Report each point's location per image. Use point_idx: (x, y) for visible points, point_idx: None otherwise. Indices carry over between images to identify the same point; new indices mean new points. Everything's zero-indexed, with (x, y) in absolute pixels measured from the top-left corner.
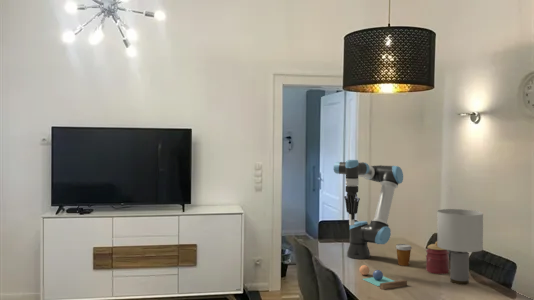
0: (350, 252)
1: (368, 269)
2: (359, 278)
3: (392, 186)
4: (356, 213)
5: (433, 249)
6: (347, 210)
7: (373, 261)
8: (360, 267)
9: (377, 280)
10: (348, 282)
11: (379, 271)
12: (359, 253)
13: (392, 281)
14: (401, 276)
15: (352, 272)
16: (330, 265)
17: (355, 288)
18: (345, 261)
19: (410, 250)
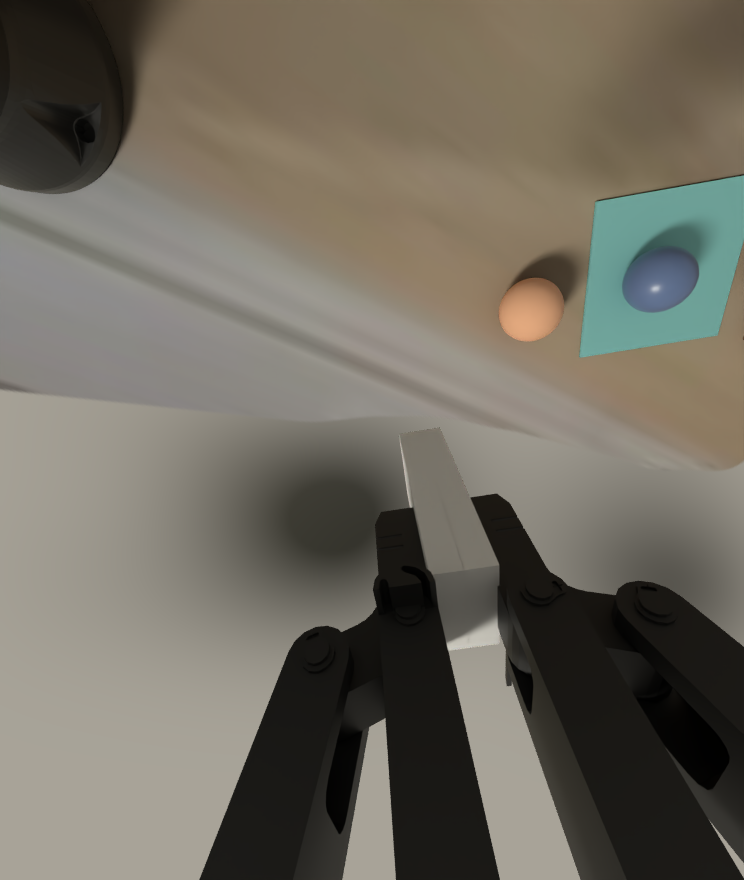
0: (47, 178)
1: (561, 294)
2: (560, 362)
3: None
4: (641, 588)
5: None
6: (355, 749)
7: (208, 15)
8: (528, 339)
9: None
10: (586, 438)
11: (695, 281)
12: (88, 104)
13: (718, 203)
14: (672, 41)
15: (449, 349)
16: (282, 408)
17: (669, 443)
18: (195, 278)
19: None
